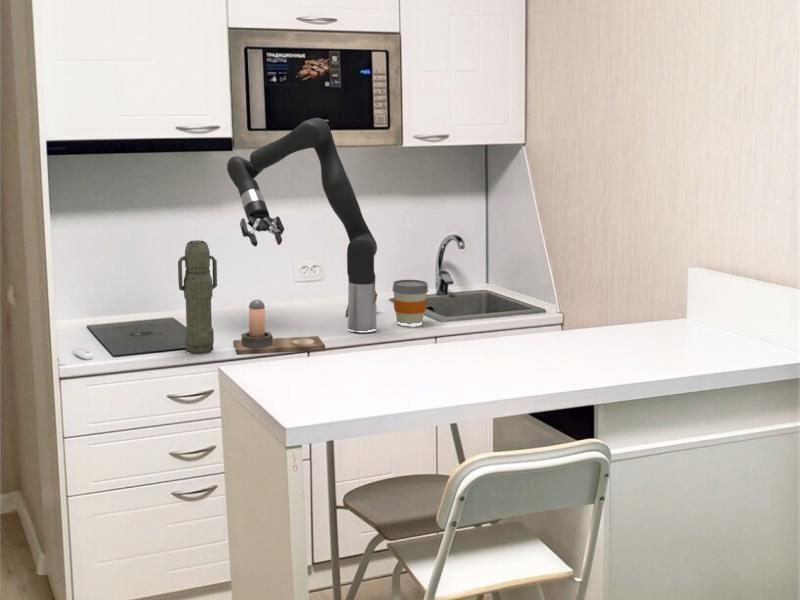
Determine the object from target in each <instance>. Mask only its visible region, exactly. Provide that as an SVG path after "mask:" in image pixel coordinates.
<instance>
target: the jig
mask: <svg viewBox="0 0 800 600" xmlns="http://www.w3.org/2000/svg"><path fill="white" fill-rule="evenodd" d="M240 336H241V339H233V342H232V345H233V344H234V345H233V347H234V346H235V348H236V350H235V353H236V355H253V354H255V355H257V354H273V353H274V354H275V353H276V354H277V353H291V352H293V353H295V352H309V351H310V352H312V351H326V345H325V343H324V342H323V340H322V339H321V338H320V337H319V336H318V335H315V336H313V335H312V336H295V337H292V336H291V337H277V338H275V337H273V334H272V333H271V332H270V331H269V332H268V331H265V337H261V338H252V337H249V331H247V332H244V333H241V335H240ZM235 348H234V349H235Z"/></svg>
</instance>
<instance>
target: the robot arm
mask: <svg viewBox="0 0 800 600" xmlns="http://www.w3.org/2000/svg"><path fill="white" fill-rule="evenodd" d="M333 137H334V136H333V134H332V130H331V129H330V126H329V124H328V122H326V121H325V119H323V118H320V117H314V118H310V119H307V120H305V121H303V122H301V123H300V124H299V125H297V127H295V128H294V129H292V130H291V131H290V132H289V133H287V134H285V135H283V136H282V137H280V138H279V139H276V140H275V141H272V142H269V143H267V144H266V145H265V144H264V145H263V146H261V147H260V148H257V149H255V150H253V151H252V152H251V153H250V155H249V160H247V159H245V158H243V157H241V156H239V155H237V156H236V155H235V156H234V155H233V156H232V157H230V158H229V159H228V161H227V164H226V170H227V174H228V176H229V178H230V179H231V181H232V182H233V184H234V186H235V187H236V189H237V191H238V193H239V197H240V199H241V204H242V208H243V211H244V212H245V216H246V218H244V217H242V218H241V220H240V222H239V226H240V229H241V234H242V237H244V238H246V237H247V238H249V240H250V243H251V245H252V246H253V247H257V246H258V243H259V242H258V239H257V237H256V234H255V232H257V233H259V232H268V233H269V234H272V235H273V236H274V238H275V241H276V243H277V245H278V246H280V245H281V244H282V243H283V237H282V235H283V233H284V231H285V227H284V225H283V223H282V220H281V218H280V217H279V216H276V217H275V218H272V217H271V216H270V213H269V210H268V207H267V204H266V202H265V198H264V196H263V195H262V192H261V189H260V187H259V184H258V182H257V180H256V177H257V176H258V175H260V173H262V172H263V171H264V170H265V169H268V168H269V167H271V166H273V165H275V164H277V163H278V162H280V161H282V160H283V159H285V158H287V157H288V156H289V155H291V154H294V153H297V152H300V151H303V150H307V149H314V150H315V153H316V155H317V157H318V160H319V165H320V173H321V185H322V189H323V191H324V194H325V196H326V199H327V201H328V204H329V206H330V208H331V209H332V211H333V212H334V213H335V215H336V216H337V217H338V219H339V220H340V222H341V223H342V226H343V227H344V229H345V232H346V234H347V237H348V240H349V243H348V245H347V250H346V265H347V266H346V273H347V278H348V282H347V283H348V287H347V288H348V292H347V294H348V298H347V299H348V302H347V306H348V316H347V330H348V329H350V330H354V331H368V330H372V329H376V330H377V311H378V310H377V304H376V303H375V291H376V273H375V256H376V254H377V251H378V246H377V242H376V240H375V237H374V236H373V234H372V232H371V230H370V229H369V227H368V225H367V223H366V220H365V218H364V215H363V214H362V211H361V208H360V205H359V202H358V199H357V196H356V194H355V191H354V189H353V186H352V183H351V182H350V179H349V177H348V175H347V172H346V171H345V167H344V165H343V163H342V161H341V158H340V156H339V153H338V150H337V147H336V144H335V140H334V138H333ZM248 226H250V228H251V229H250V231H249V230H248V229H249V228H248Z"/></svg>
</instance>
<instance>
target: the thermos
mask: <svg viewBox="0 0 800 600" xmlns="http://www.w3.org/2000/svg"><path fill="white" fill-rule="evenodd" d="M210 253H211V252H210V248H209V245H208V243H207V242H206V241H204V240H199V239H198V240H197V239H196V240H190V241H189V242H187V243H186V245H185V249H184V255H183V256H180V258H178V261H177V274H178V275H177V276H178V277H177V278H178V279H177V280H178V289H179V290H180V291H182V292H183V298H184V300H185V316H186V317H185V322H186V323H185V324H186V325H185V329H184V343H185V352H186V351H187V352H189V353H188V354H190V353H191V355H206V354H211V353H212V352H211V351H212V350H213V351H214V343H215V341H214V339H215V337H214V335H215V334H214V329H213V328H214V327H213V326H212V325H213V324H212V323H213V322H212V321H213V320H212V298H213V296H214V295H213V290H214V289H215V288H217V287H218V269H217V268H218V267H217V262H218V261H217V259H216V258H215V257H214V256H213V255H210ZM210 260H211V261H212V276H211V269H210V267H211V264H210V263H211V261H210ZM183 261H184V267H185V274H184V277H183ZM187 352H186V353H187Z"/></svg>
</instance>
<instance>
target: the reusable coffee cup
mask: <svg viewBox="0 0 800 600" xmlns="http://www.w3.org/2000/svg"><path fill="white" fill-rule="evenodd" d="M392 292H393V298H392V301H393V308H394V312H395V317H396V323H397V322H400V323H407V324H412V323H420V322H422V321H423V320H424V314H425V312H426V309H427V301H428V299H427V293H428V292H429V287H428V282H427V281H424V280H420V279H419V280H418V279H398V280H396V281H393V285H392ZM423 322H424V321H423ZM423 322H422V323H423Z"/></svg>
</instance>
